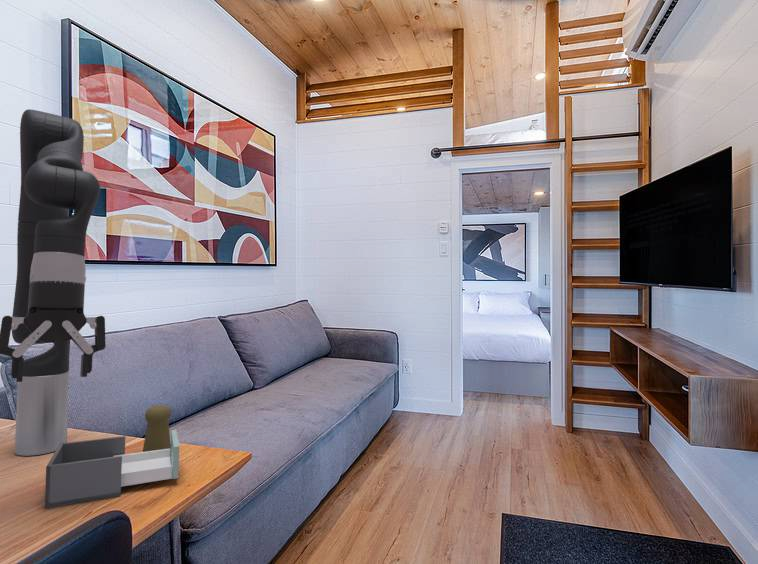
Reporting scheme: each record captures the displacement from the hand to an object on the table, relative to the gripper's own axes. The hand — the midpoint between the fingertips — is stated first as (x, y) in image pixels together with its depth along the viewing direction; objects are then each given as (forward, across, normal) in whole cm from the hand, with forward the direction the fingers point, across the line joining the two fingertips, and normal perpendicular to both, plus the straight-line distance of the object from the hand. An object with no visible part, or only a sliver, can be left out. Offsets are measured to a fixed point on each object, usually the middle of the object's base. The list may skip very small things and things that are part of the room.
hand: (52, 379), depth 71 cm
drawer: (+20, -16, -6) cm, 26 cm away
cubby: (+21, -8, -9) cm, 24 cm away
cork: (+20, -21, -18) cm, 34 cm away
